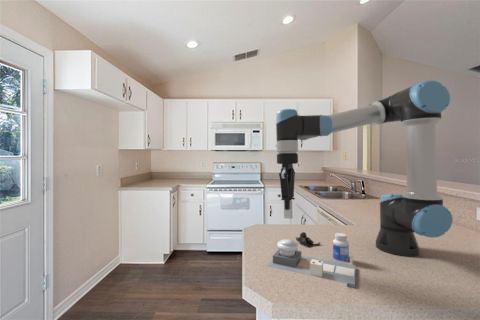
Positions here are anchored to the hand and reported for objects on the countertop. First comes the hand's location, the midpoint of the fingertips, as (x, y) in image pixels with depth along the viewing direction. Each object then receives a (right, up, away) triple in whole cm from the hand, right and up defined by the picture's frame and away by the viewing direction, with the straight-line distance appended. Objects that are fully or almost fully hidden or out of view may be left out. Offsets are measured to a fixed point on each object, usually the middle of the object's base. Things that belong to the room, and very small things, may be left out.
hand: (288, 217), depth 85 cm
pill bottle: (+20, -17, +2) cm, 26 cm away
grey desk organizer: (+7, -16, -4) cm, 18 cm away
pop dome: (0, -14, 0) cm, 14 cm away
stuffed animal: (+10, -17, +18) cm, 27 cm away
